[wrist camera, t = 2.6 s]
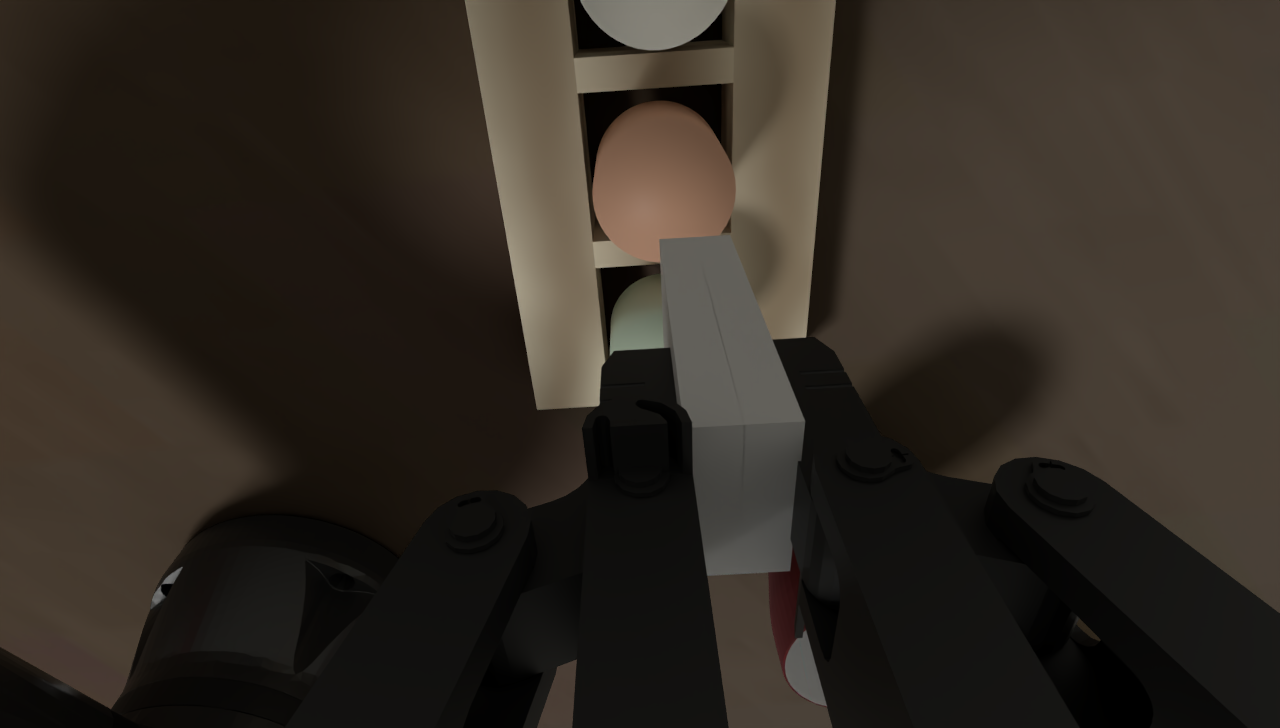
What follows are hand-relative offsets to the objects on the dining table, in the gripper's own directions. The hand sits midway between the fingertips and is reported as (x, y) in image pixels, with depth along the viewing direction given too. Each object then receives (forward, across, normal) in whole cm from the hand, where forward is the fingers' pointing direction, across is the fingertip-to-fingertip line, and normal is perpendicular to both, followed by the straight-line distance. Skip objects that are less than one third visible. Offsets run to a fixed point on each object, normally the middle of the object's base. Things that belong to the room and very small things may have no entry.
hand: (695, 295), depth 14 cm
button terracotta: (+11, 0, 0) cm, 11 cm away
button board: (+14, 0, 0) cm, 14 cm away
